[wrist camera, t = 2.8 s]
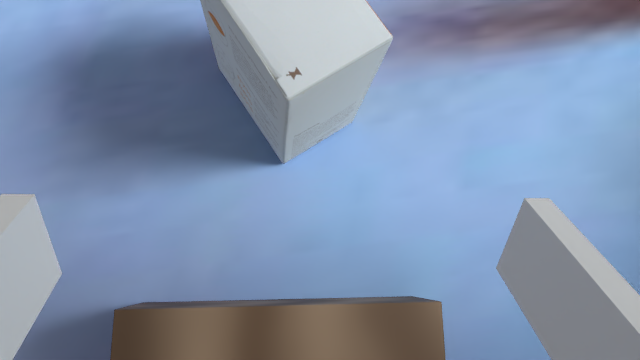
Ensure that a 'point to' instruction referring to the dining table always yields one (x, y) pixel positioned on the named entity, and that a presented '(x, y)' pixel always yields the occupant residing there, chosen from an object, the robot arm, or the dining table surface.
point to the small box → (297, 63)
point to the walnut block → (281, 330)
